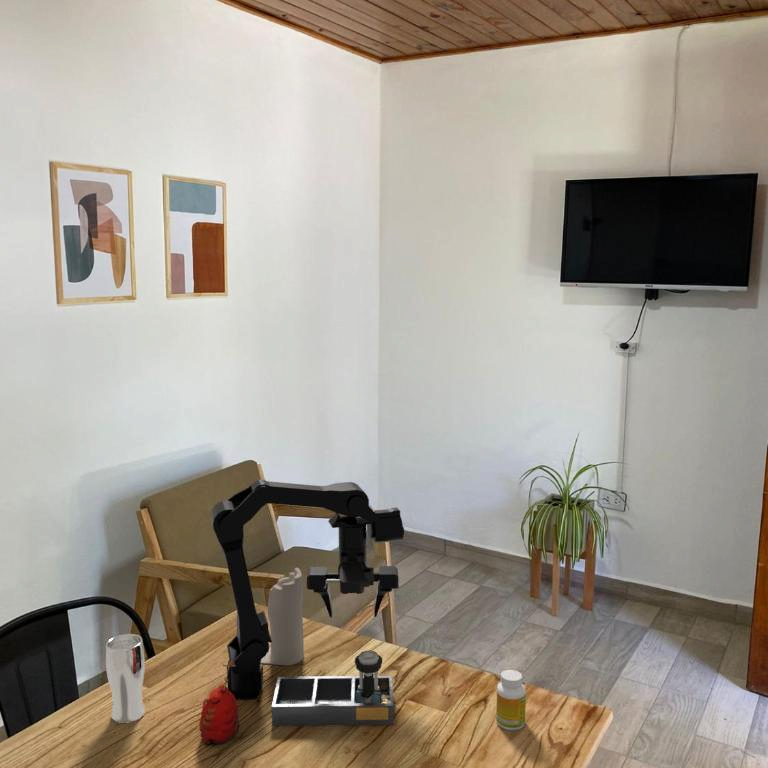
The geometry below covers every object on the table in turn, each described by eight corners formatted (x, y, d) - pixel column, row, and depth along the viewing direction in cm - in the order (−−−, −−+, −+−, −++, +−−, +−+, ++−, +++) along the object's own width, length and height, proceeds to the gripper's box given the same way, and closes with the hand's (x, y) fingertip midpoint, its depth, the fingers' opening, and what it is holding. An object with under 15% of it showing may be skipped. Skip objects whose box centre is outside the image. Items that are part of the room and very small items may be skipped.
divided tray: (271, 727, 147) (271, 707, 146) (278, 695, 157) (278, 676, 157) (393, 725, 147) (393, 706, 146) (391, 694, 158) (392, 675, 157)
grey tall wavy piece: (247, 646, 177) (244, 562, 174) (307, 650, 175) (305, 565, 172) (237, 662, 170) (234, 575, 167) (299, 666, 168) (297, 578, 165)
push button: (390, 696, 155) (390, 649, 153) (387, 712, 149) (387, 663, 148) (357, 694, 155) (357, 647, 154) (353, 709, 150) (352, 661, 149)
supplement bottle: (524, 732, 145) (526, 684, 143) (495, 729, 146) (496, 681, 144) (525, 716, 150) (526, 669, 149) (496, 713, 151) (497, 666, 150)
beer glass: (154, 709, 152) (151, 637, 150) (129, 729, 146) (125, 654, 144) (127, 701, 155) (123, 630, 153) (101, 720, 149) (96, 646, 147)
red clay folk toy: (206, 723, 148) (204, 649, 146) (243, 724, 148) (241, 649, 145) (196, 748, 140) (192, 670, 138) (235, 748, 140) (232, 671, 138)
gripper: (303, 560, 153) (305, 635, 155) (399, 559, 153) (399, 634, 155) (308, 539, 164) (309, 610, 166) (397, 539, 164) (397, 609, 166)
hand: (353, 616), depth 163 cm, fingers open, 9 cm apart
